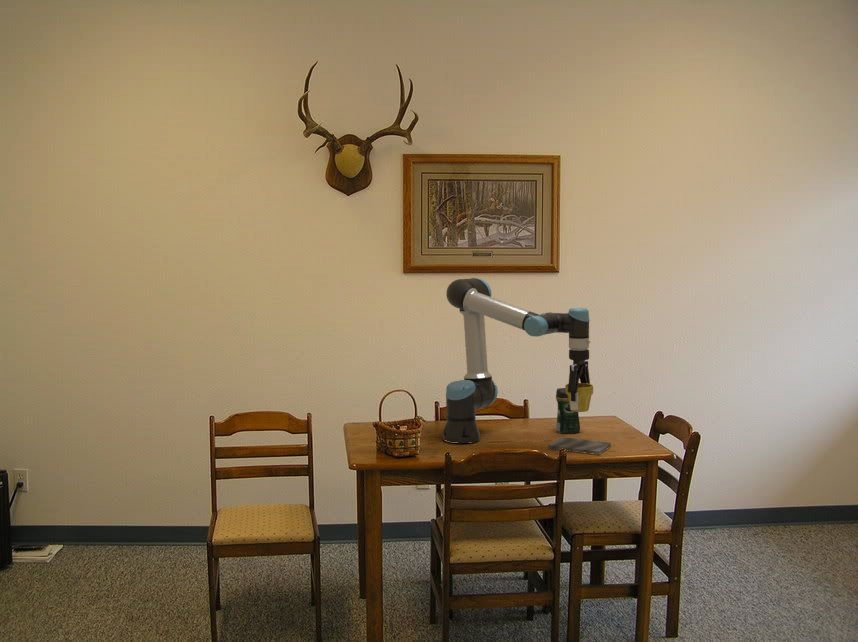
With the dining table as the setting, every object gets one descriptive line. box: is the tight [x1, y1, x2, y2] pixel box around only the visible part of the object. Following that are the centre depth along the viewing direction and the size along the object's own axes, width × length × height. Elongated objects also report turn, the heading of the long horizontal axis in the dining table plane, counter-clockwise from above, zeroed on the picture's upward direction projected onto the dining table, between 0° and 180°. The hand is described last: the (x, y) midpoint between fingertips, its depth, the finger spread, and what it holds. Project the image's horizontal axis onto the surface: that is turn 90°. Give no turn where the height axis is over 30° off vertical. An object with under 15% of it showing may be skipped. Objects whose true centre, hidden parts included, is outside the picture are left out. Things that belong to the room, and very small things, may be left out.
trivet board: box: [547, 436, 612, 455], centre depth 275 cm, size 20×14×2 cm
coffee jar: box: [555, 387, 581, 434], centre depth 299 cm, size 10×8×19 cm
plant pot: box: [564, 382, 594, 413], centre depth 273 cm, size 10×10×10 cm
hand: (579, 407), depth 273 cm, fingers closed on plant pot, 10 cm apart
